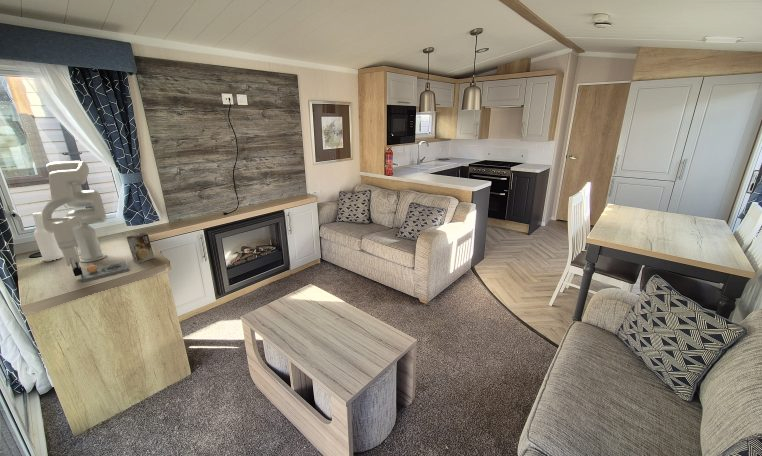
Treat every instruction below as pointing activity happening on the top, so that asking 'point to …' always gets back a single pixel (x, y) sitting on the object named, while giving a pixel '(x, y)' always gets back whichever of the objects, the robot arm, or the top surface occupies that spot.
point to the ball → (92, 268)
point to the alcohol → (46, 240)
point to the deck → (105, 271)
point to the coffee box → (140, 247)
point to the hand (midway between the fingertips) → (78, 274)
